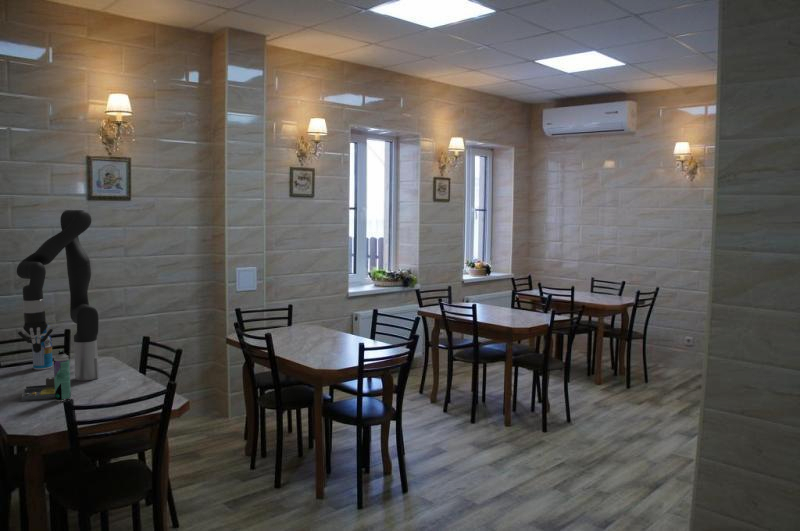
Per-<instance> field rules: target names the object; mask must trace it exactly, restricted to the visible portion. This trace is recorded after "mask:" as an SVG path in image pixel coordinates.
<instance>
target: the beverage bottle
mask: <svg viewBox="0 0 800 531" xmlns="http://www.w3.org/2000/svg"><path fill="white" fill-rule="evenodd" d="M47 326H48V327H50V325H48V324H47ZM46 330H47V329H45V331H44V332H43V333H42V334H41V339H42V338H43V337H44V336H45V335H46V334H47V332H46ZM36 342H37V335H36ZM41 348H42V349H41V351H40V352H39V353H35V352H34V351H33V344H32V345H31V352H32V367H33V369H34V370H38V371H41V370H47V369H52V367H54V362H53V344H52V337H51V334H50V335H49V336H48V338H47V339H46V340H45V341H44V342H42V343H41Z"/></svg>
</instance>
